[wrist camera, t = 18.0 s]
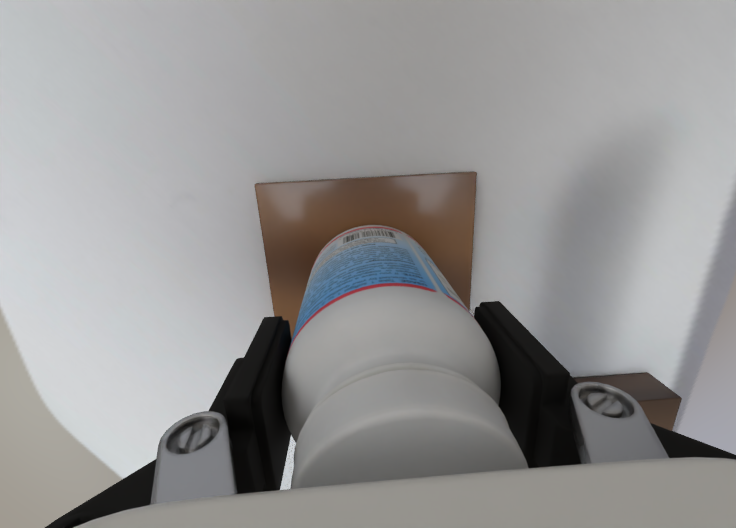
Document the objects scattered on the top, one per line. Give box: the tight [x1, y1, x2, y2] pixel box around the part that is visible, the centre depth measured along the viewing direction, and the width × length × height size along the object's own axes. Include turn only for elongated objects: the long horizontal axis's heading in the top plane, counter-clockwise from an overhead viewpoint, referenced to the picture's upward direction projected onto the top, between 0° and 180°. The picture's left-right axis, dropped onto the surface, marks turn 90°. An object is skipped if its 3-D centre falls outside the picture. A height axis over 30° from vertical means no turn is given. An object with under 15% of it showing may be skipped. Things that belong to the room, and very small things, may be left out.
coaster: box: [255, 172, 477, 339], centre depth 17 cm, size 10×10×1 cm
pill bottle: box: [281, 225, 528, 489], centre depth 12 cm, size 6×6×11 cm
